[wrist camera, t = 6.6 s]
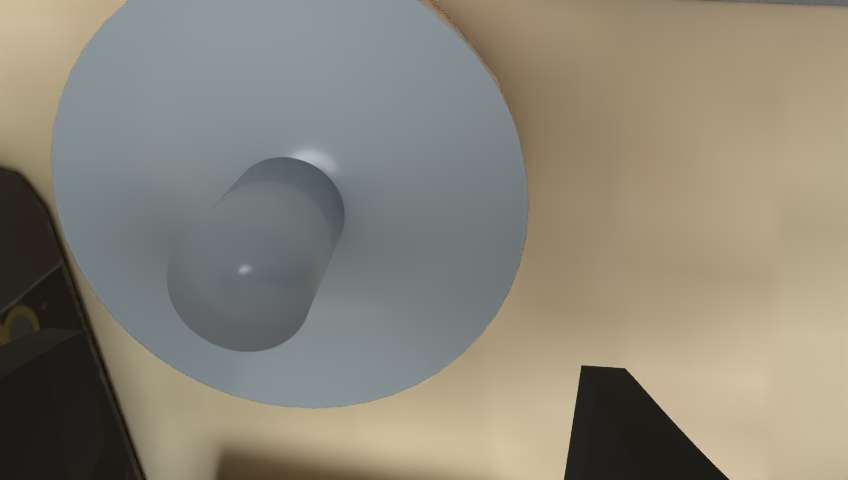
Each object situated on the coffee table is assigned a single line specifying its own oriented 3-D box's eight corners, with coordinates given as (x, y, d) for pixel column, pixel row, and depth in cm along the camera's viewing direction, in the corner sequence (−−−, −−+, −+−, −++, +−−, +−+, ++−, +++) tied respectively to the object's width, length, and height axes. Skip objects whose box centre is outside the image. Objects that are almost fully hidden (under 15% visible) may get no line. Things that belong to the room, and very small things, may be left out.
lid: (548, 358, 17) (573, 494, 13) (159, 403, 18) (69, 541, 14) (490, -93, 13) (500, -100, 9) (2, 2, 15) (-181, 33, 10)
